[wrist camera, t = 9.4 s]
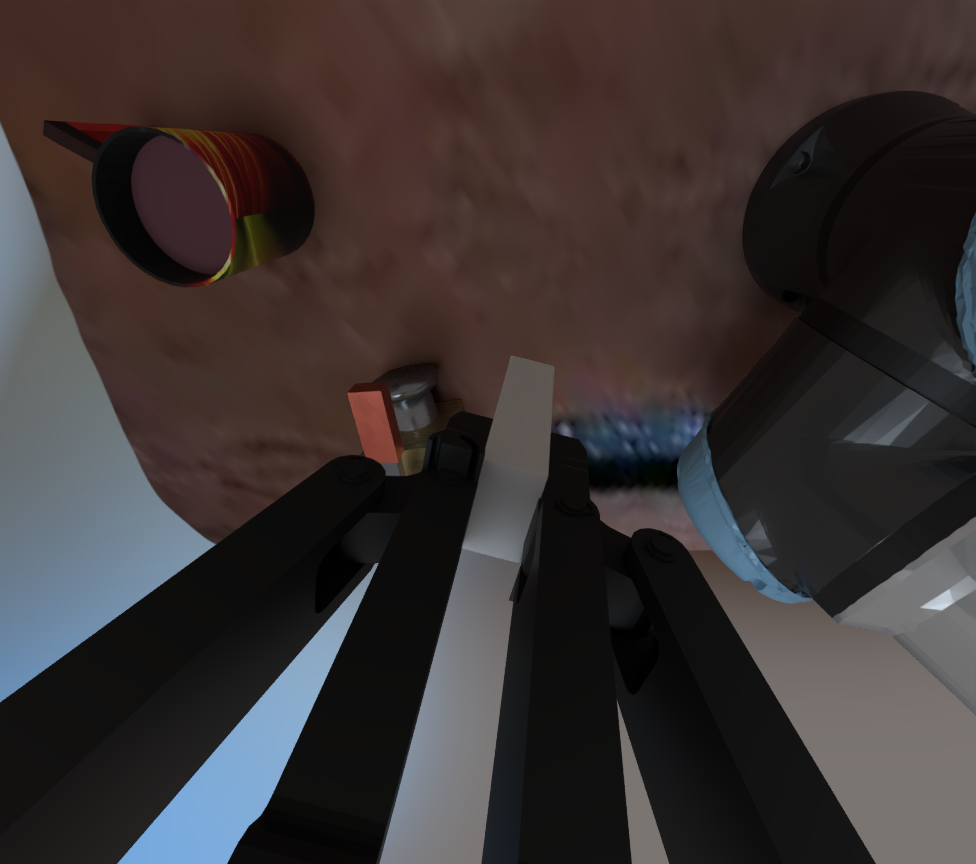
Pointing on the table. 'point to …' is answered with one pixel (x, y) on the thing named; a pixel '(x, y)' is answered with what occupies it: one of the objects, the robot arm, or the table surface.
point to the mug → (192, 197)
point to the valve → (417, 410)
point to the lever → (378, 425)
